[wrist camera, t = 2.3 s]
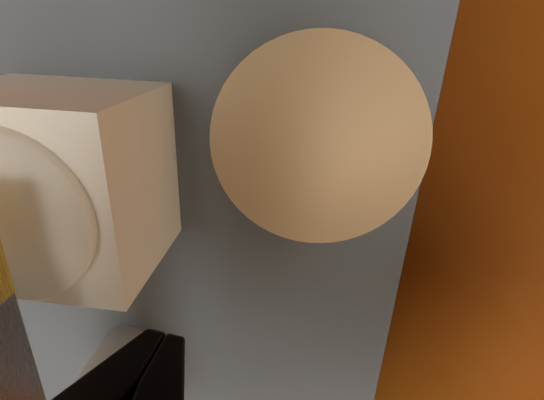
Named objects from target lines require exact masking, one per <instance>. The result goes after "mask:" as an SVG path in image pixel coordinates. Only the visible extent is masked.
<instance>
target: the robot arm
mask: <svg viewBox="0 0 544 400" xmlns="http://www.w3.org/2000/svg"><path fill="white" fill-rule="evenodd" d="M184 378H185V338H184V337H183V336H179V335H175V334H171V333H168V334H165V332H163V331H159V330H155V329H150V328H149V329H146V330H144V331H143V332H142V333H140V334H139V335H138V336H136V337H135V338H133V339H132V340H131V341H129V342H128V343H127V344H125V345H124V346H123V347H121V348H120V349H119V350H117V351H116V352H115V353H113V354H112V355H111V356H109V357H108V358H107V359H105V360H104V361H102V362H101V363H100V364H98V365H97V366H96V367H94V368H93V369H92V370H90V371H89V372H88V373H86V374H85V375H84V376H82V377H81V378H80V379H78V380H77V381H76V382H74V383H73V384H71V385H70V386H69V387H67V388H66V389H65V390H63V391H62V392H61V393H59V394H58V395H57V396H55V397H54V398H53V399H51V400H184Z"/></svg>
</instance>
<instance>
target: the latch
mask: <svg viewBox="0 0 544 400" xmlns="http://www.w3.org/2000/svg"><path fill="white" fill-rule="evenodd" d="M15 292H16V290H15V287H14V283H13V280H12V276H11V273H10V269H9V266H8V263H7V259H6V256H5V252H4V249H3V245H2V242H1V239H0V400H46V397H45V394H44V391H43V387H42V384H41V380H40V377H39V374H38V370H37V367H36V363H35V360H34V357H33V353H32V350H31V346H30V343H29V340H28V336H27V333H26V329H25V326H24V323H23V319H22V316H21V312H20V309H19V306H18V302H17V299H16V295H15Z"/></svg>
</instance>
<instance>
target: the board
mask: <svg viewBox="0 0 544 400" xmlns="http://www.w3.org/2000/svg"><path fill="white" fill-rule="evenodd" d="M459 2H460V0H0V75H6V74H11V73H20V74H37V75H54V76H71V77H88V78H105V79H122V80H139V81H156V82H171V83H172V98H173V113H174V128H175V143H176V158H177V173H178V188H179V203H180V217H181V231H180V233H179V234H178V236H177V237H176V239H175V240H174V242H173V243H172V245H171V246H170V248H169V249H168V251H167V252H166V254H165V255H164V257H163V258H162V260H161V261H160V262H159V264H158V265H157V267H156V268H155V270H154V271H153V273H152V274H151V276H150V277H149V279H148V280H147V282H146V283H145V285H144V286H143V288H142V289H141V291H140V292H139V294H138V295H137V297H136V298H135V300H134V301H133V303H132V304H131V306H130V307H129V309H128V310H127V312H123V311H114V310H106V309H97V308H88V307H79V306H70V305H62V304H53V303H44V302H35V301H27V300H18V299H17V302H18V306H19V309H20V312H21V316H22V319H23V323H24V326H25V329H26V333H27V336H28V340H29V343H30V346H31V350H32V353H33V357H34V360H35V363H36V367H37V370H38V374H39V377H40V380H41V384H42V387H43V391H44V394H45V397H46V400H51V399H53V398H54V397H55V396H57V395H58V394H59V393H61V392H62V391H63V390H65V389H66V388H67V387H69V386H70V385H71V384H73V383H74V382H76V381H77V380H78V379H80V378H81V377H82V376H84V375H85V374H86V373H88V372H89V371H90V370H92V369H93V368H94V367H96V366H97V365H98V364H100V363H101V362H102V361H104V360H105V359H107V358H108V357H109V356H111V355H112V354H113V353H115V352H116V351H117V350H119V349H120V348H121V347H123V346H124V345H125V344H127V343H128V342H129V341H131V340H132V339H133V338H135V337H136V336H138V335H139V334H140V333H142V332H143V331H144V330H146V329H149V328H150V329H155V330H159V331H163V332H165V334H168V333H171V334H175V335H179V336H183V337H184V338H185V378H184V400H374V397H375V393H376V388H377V384H378V379H379V374H380V370H381V365H382V360H383V356H384V351H385V346H386V342H387V337H388V332H389V328H390V323H391V318H392V314H393V309H394V305H395V300H396V295H397V291H398V286H399V281H400V277H401V272H402V267H403V263H404V258H405V253H406V249H407V244H408V239H409V235H410V230H411V225H412V221H413V216H414V212H415V207H416V202H417V198H418V193H419V188H420V184H421V181H422V179H423V176H424V174H425V172H426V170H427V166H428V163H429V159H430V155H431V149H432V142H433V123H434V119H435V114H436V109H437V105H438V100H439V95H440V91H441V86H442V81H443V77H444V72H445V67H446V63H447V58H448V54H449V49H450V44H451V40H452V35H453V30H454V26H455V21H456V16H457V12H458V7H459Z"/></svg>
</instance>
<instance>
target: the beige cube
mask: <svg viewBox="0 0 544 400" xmlns="http://www.w3.org/2000/svg"><path fill="white" fill-rule="evenodd" d="M180 231H181V217H180V203H179V188H178V173H177V158H176V143H175V128H174V113H173V98H172V83H171V82H156V81H139V80H122V79H105V78H88V77H71V76H54V75H37V74H20V73H11V74H6V75H0V239H1V242H2V245H3V249H4V252H5V256H6V259H7V263H8V266H9V269H10V273H11V276H12V280H13V283H14V287H15V290H16V292H15V295H16V299H18V300H27V301H35V302H44V303H53V304H62V305H70V306H79V307H88V308H97V309H106V310H114V311H123V312H127V310H128V309H129V307H130V306H131V304H132V303H133V301H134V300H135V298H136V297H137V295H138V294H139V292H140V291H141V289H142V288H143V286H144V285H145V283H146V282H147V280H148V279H149V277H150V276H151V274H152V273H153V271H154V270H155V268H156V267H157V265H158V264H159V262H160V261H161V260H162V258H163V257H164V255H165V254H166V252H167V251H168V249H169V248H170V246H171V245H172V243H173V242H174V240H175V239H176V237H177V236H178V234H179V233H180Z"/></svg>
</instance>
